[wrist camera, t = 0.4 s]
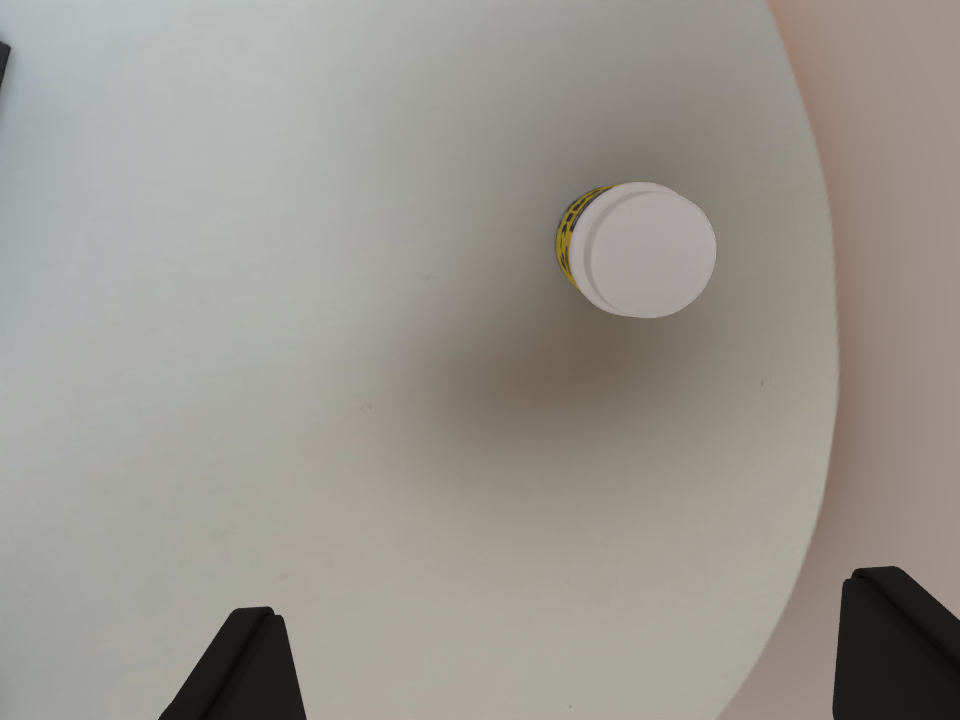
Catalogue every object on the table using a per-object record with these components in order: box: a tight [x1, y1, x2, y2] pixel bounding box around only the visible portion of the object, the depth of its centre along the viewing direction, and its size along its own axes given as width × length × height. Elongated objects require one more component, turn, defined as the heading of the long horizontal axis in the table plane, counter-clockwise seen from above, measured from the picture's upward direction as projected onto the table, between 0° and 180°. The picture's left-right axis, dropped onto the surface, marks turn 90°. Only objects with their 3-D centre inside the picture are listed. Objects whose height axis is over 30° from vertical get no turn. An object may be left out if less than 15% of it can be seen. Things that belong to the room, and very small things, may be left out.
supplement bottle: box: [555, 182, 716, 318], centre depth 21 cm, size 5×5×8 cm
